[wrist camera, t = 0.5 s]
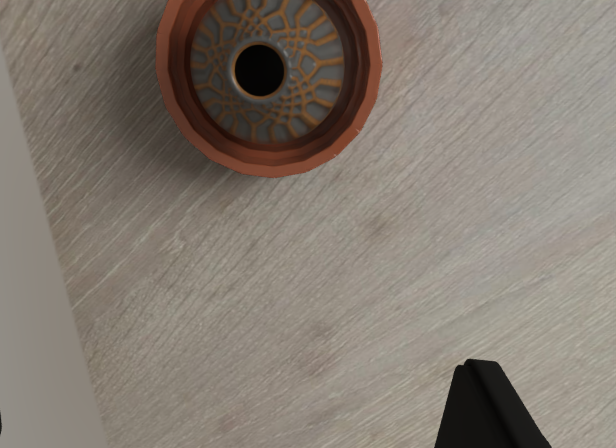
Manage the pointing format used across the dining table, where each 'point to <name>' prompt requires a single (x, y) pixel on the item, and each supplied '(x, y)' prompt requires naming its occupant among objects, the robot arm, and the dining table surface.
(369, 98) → the bowl
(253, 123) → the vase
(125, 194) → the dining table surface
